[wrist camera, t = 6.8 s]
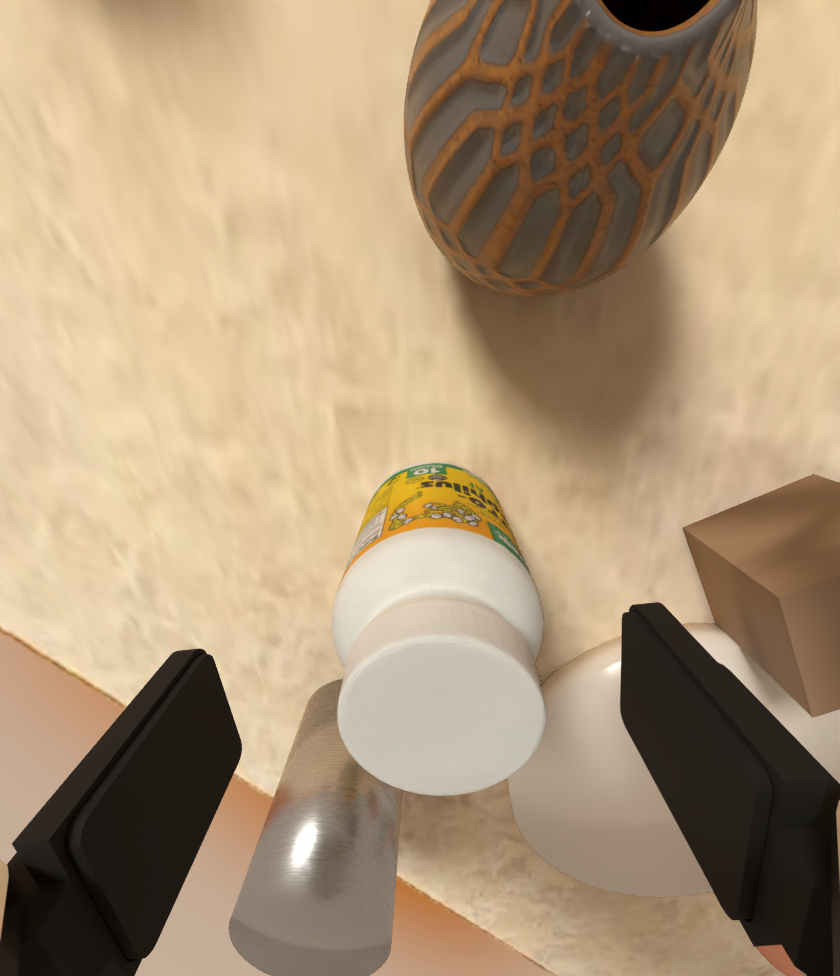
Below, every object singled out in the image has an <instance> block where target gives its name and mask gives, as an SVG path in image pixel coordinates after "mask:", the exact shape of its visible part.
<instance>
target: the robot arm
mask: <svg viewBox="0 0 840 976" xmlns="http://www.w3.org/2000/svg"><path fill="white" fill-rule="evenodd" d="M620 712H621V717H622V720H623V723H624V726H625V728H626V730H627V731H628V733H629V735H630V737H631V739H632V741H633V743H634V744H635V746H636V748H637V750H638V752H639V754H640V756H641V758H642V759H643V761H644V763H645V765H646V767H647V769H648V771H649V772H650V774H651V776H652V778H653V780H654V782H655V784H656V785H657V787H658V789H659V791H660V793H661V795H662V797H663V798H664V800H665V802H666V804H667V806H668V808H669V810H670V812H671V813H672V815H673V817H674V819H675V821H676V823H677V825H678V826H679V828H680V830H681V832H682V834H683V836H684V838H685V839H686V841H687V843H688V845H689V847H690V849H691V851H692V852H693V854H694V856H695V858H696V860H697V862H698V864H699V865H700V867H701V869H702V871H703V873H704V875H705V877H706V879H707V880H708V882H709V884H710V886H711V888H712V890H713V892H714V893H715V895H716V897H717V899H718V901H719V903H720V905H721V906H722V908H723V910H724V911H725V913H726V914H727V915H728V917H730V918H731V919H732V920H740V922H741V924H742V926H743V927H744V929H745V931H746V933H747V935H748V936H749V938H750V940H751V942H752V944H753V945H754V946H769V945H782V946H783V948H784V950H785V951H786V953H787V955H788V956H789V958H790V960H791V961H792V963H793V965H794V966H795V967H796V968H798V969H799V970H800V971H801V976H840V784H839V783H838V782H837V781H836V779H835V778H834V777H833V776H832V775H831V774H830V773H829V772H828V771H827V770H826V769H825V768H824V767H823V766H822V765H821V764H820V763H819V762H818V761H817V760H816V759H815V758H814V757H813V756H812V755H811V754H810V753H809V752H808V750H807V749H806V748H805V747H804V746H803V745H802V744H801V743H800V742H799V741H798V740H797V739H796V738H795V737H794V736H793V735H792V734H791V733H790V732H789V731H788V730H787V729H786V728H785V727H784V726H783V725H782V724H781V723H780V721H779V720H778V719H777V718H776V717H775V716H774V715H773V714H772V713H771V712H770V711H769V710H768V709H767V708H766V707H765V706H764V705H763V704H762V703H761V702H760V701H759V700H758V699H757V698H756V697H755V696H754V695H753V693H752V692H751V691H750V690H749V689H748V688H747V687H746V686H745V685H744V684H743V683H742V682H741V681H740V680H739V679H738V678H737V677H736V676H735V675H734V674H733V673H732V672H731V671H730V670H729V669H728V668H727V667H725V666H724V665H723V664H720V663H718V662H717V661H716V660H715V659H714V658H713V657H712V656H711V655H710V654H709V653H708V652H707V650H706V649H705V648H704V647H703V646H702V645H701V644H700V643H699V642H698V641H697V640H696V639H695V638H694V637H693V636H692V635H691V634H690V633H689V632H688V630H687V629H686V628H685V627H684V626H683V625H682V624H681V623H680V622H679V621H678V620H677V619H676V618H675V617H674V616H673V615H672V614H671V613H670V612H669V610H668V609H667V608H666V607H665V606H664V605H662V604H661V603H658V602H656V603H646V604H637V605H632V606H631V607H630V609H629V612H626V613H623V616H622V642H621V684H620ZM241 752H242V743H241V739H240V736H239V733H238V730H237V727H236V724H235V721H234V718H233V715H232V712H231V709H230V706H229V703H228V700H227V697H226V694H225V691H224V688H223V685H222V682H221V679H220V676H219V673H218V670H217V667H216V664H215V661H214V659H213V657H212V656H211V655H209V654H207V653H206V652H205V651H204V650H203V649H191V650H181V651H176V652H174V653H173V654H171V655H170V657H169V658H168V659H167V660H166V661H165V662H164V664H163V665H162V666H161V667H160V668H159V670H158V671H157V672H156V673H155V674H154V676H153V677H152V678H151V679H150V680H149V681H148V683H147V684H146V685H145V686H144V687H143V689H142V690H141V691H140V692H139V693H138V695H137V696H136V697H135V698H134V699H133V700H132V702H131V703H130V704H129V705H128V706H127V708H126V709H125V710H124V711H123V712H122V714H121V715H120V716H119V717H118V718H117V719H116V721H115V722H114V723H113V724H112V726H111V727H110V728H109V729H108V730H107V731H106V733H105V734H104V735H103V736H102V737H101V739H100V740H99V741H98V742H97V744H96V745H95V746H94V747H93V748H92V749H91V750H90V752H89V753H88V754H87V755H86V756H85V758H84V759H83V760H82V761H81V762H80V763H79V765H78V766H77V767H76V768H75V769H74V771H73V772H72V773H71V774H70V775H69V777H68V778H67V779H66V780H65V781H64V782H63V784H62V785H61V786H60V787H59V788H58V790H57V791H56V792H55V793H54V794H53V795H52V797H51V798H50V799H49V800H48V801H47V803H46V804H45V805H44V806H43V807H42V809H41V810H40V811H39V812H38V813H37V814H36V816H35V817H34V818H33V820H31V822H30V823H29V824H28V825H27V826H26V828H25V829H24V830H23V831H22V832H21V834H20V835H19V836H18V837H17V838H16V839H15V841H14V842H13V843H12V845H13V846H14V848H15V850H16V851H17V853H16V854H15V855H14V857H13V858H12V859H11V860H10V862H9V863H8V864H5V863H4V862H3V861H1V860H0V976H134V975H135V973H136V971H137V969H138V967H139V965H140V963H141V960H142V958H146V957H147V956H148V955H149V954H150V953H151V951H152V950H153V948H154V947H155V945H156V943H157V941H158V938H159V936H160V934H161V932H162V929H163V927H164V925H165V923H166V921H167V919H168V916H169V914H170V912H171V910H172V907H173V906H174V903H175V901H176V899H177V897H178V894H179V892H180V890H181V888H182V886H183V883H184V881H185V879H186V877H187V875H188V872H189V870H190V868H191V866H192V864H193V862H194V859H195V857H196V855H197V853H198V850H199V848H200V846H201V844H202V842H203V840H204V837H205V835H206V833H207V831H208V829H209V826H210V824H211V822H212V820H213V817H214V815H215V813H216V811H217V809H218V807H219V804H220V802H221V800H222V798H223V795H224V793H225V791H226V789H227V787H228V785H229V782H230V780H231V778H232V776H233V774H234V771H235V769H236V767H237V765H238V763H239V760H240V757H241Z"/></svg>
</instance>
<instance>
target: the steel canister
mask: <svg viewBox="0 0 840 976" xmlns="http://www.w3.org/2000/svg"><path fill="white" fill-rule="evenodd" d="M342 682H343V679H341V680H337V681H333V682H331V683H328V684H326V685H324V686H322V687H321V688H319V689H318V690H317V691H316V692H315V693H314V694H313V695H312V696H311V698H310V699H309V701H308V703H307V706H306V709H305V712H304V715H303V717H302V720H301V723H300V726H299V729H298V731H297V734H296V737H295V740H294V743H293V745H292V748H291V751H290V754H289V757H288V759H287V762H286V765H285V768H284V771H283V773H282V776H281V779H280V782H279V785H278V787H277V790H276V793H275V796H274V799H273V801H272V804H271V807H270V810H269V813H268V816H267V818H266V821H265V824H264V827H263V829H262V832H261V835H260V838H259V841H258V843H257V846H256V850H255V852H254V855H253V857H252V860H251V863H250V866H249V869H248V872H247V874H246V877H245V880H244V883H243V886H242V888H241V891H240V894H239V897H238V900H237V902H236V906H235V908H234V911H233V914H232V916H231V919H230V922H229V935H230V938H231V941H232V943H233V945H234V947H235V949H236V950H237V951H238V953H239V954H240V955H241V956H242V957H243V958H244V959H245V960H246V961H248V962H249V963H250V964H251V965H253V966H254V967H256V968H257V969H259V970H260V971H262V972H264V973H266V974H268V975H271V976H369V975H371V974H373V973H374V972H376V971H377V970H378V969H379V968H380V967H381V966H382V965H383V964H384V963H385V962H386V960H387V958H388V957H389V954H390V951H391V942H392V928H393V915H394V901H395V887H396V873H397V859H398V845H399V831H400V817H401V803H402V790H401V789H398V788H396V787H393V786H391V785H389V784H387V783H385V782H382V781H380V780H379V779H377V778H376V777H374V776H373V775H372V774H370V773H369V772H368V771H366V770H365V769H364V768H363V767H362V766H360V765H359V763H358V762H357V761H356V760H355V759H354V758H353V757H352V756H351V754H350V753H349V751H348V750H347V748H346V746H345V744H344V742H343V740H342V737H341V735H340V731H339V727H338V718H337V708H338V700H339V695H340V691H341V686H342Z"/></svg>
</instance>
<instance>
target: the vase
mask: <svg viewBox="0 0 840 976" xmlns="http://www.w3.org/2000/svg"><path fill="white" fill-rule="evenodd" d="M756 26H757V0H431V1H430V4H429V6H428V9H427V12H426V14H425V17H424V19H423V22H422V25H421V29H420V32H419V35H418V38H417V41H416V45H415V48H414V52H413V56H412V60H411V65H410V71H409V76H408V82H407V89H406V97H405V108H404V142H405V156H406V163H407V170H408V175H409V179H410V184H411V189H412V193H413V196H414V200H415V203H416V206H417V208H418V211H419V214H420V216H421V218H422V220H423V223H424V225H425V227H426V229H427V231H428V233H429V235H430V237H431V238H432V240H433V241H434V243H435V245H436V246H437V248H438V249H439V250H440V252H441V253H442V254H443V255H444V256H445V258H446V259H447V260H448V261H449V262H450V263H451V264H452V265H453V266H454V267H455V268H456V269H457V270H458V271H460V272H461V273H462V274H463V275H465V276H466V277H468V278H469V279H470V280H472V281H474V282H475V283H477V284H479V285H481V286H483V287H485V288H487V289H490V290H493V291H495V292H498V293H502V294H506V295H511V296H518V297H545V296H553V295H559V294H563V293H567V292H570V291H574V290H577V289H580V288H583V287H586V286H588V285H591V284H593V283H595V282H597V281H599V280H601V279H603V278H605V277H607V276H609V275H611V274H613V273H615V272H616V271H618V270H619V269H621V268H623V267H624V266H626V265H627V264H628V263H630V262H631V261H632V260H634V259H635V258H636V257H637V256H639V255H640V254H641V253H642V252H644V251H645V250H646V249H647V248H648V247H650V246H651V245H652V244H653V243H654V242H655V241H656V240H657V239H658V238H659V237H660V236H661V235H662V234H663V233H664V232H665V231H666V230H667V229H668V227H669V226H670V225H671V224H672V223H673V222H674V221H675V220H676V219H677V217H678V216H679V215H680V214H681V212H682V211H683V210H684V209H685V207H686V206H687V205H688V203H689V202H690V201H691V199H692V198H693V197H694V195H695V194H696V192H697V191H698V190H699V188H700V187H701V185H702V184H703V182H704V180H705V179H706V177H707V176H708V174H709V172H710V171H711V169H712V167H713V166H714V164H715V162H716V160H717V158H718V156H719V155H720V153H721V151H722V149H723V147H724V145H725V142H726V140H727V138H728V136H729V134H730V131H731V129H732V127H733V124H734V122H735V119H736V117H737V114H738V112H739V109H740V106H741V103H742V100H743V97H744V93H745V89H746V86H747V82H748V77H749V73H750V68H751V63H752V58H753V53H754V46H755V39H756Z"/></svg>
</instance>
